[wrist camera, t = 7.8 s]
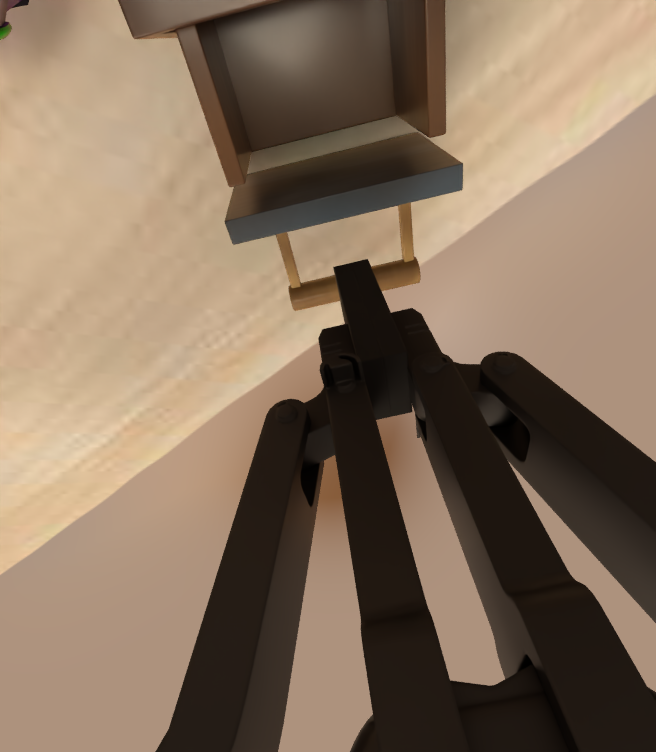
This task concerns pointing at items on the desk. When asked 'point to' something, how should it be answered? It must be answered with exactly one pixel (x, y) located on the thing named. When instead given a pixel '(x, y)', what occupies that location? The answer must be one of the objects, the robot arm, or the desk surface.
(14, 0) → the potion bottle
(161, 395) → the desk surface
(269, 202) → the drawer
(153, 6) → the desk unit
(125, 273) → the desk surface
